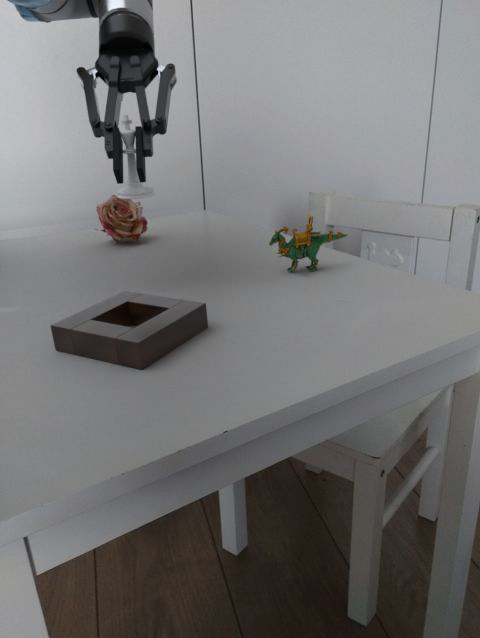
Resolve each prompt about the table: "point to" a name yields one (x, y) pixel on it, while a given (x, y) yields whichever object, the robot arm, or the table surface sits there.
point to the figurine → (303, 244)
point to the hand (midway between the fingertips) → (129, 175)
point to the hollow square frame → (130, 328)
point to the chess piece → (132, 167)
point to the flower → (122, 218)
